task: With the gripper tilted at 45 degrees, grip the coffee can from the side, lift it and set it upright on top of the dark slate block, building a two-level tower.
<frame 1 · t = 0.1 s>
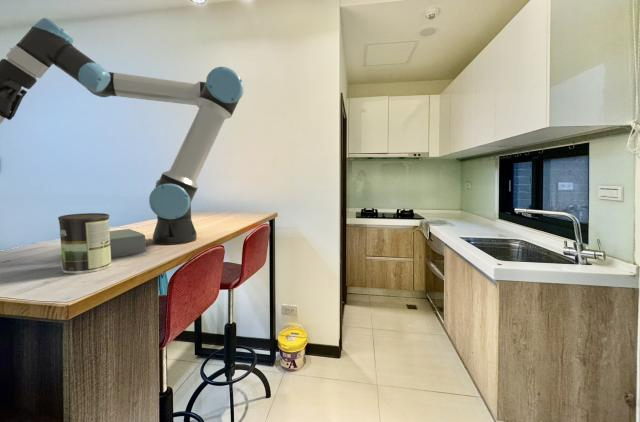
coffee can: (88, 268, 76), on the table
base block: (115, 252, 92), on the table
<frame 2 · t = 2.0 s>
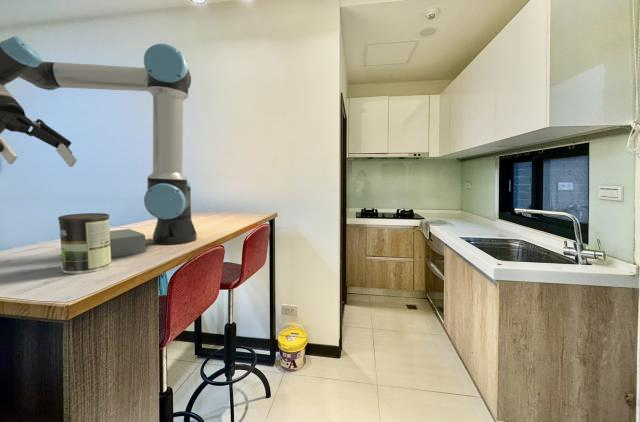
hand: (46, 162, 76), 28 cm above the table, tool tilted 45°, fingers open, 13 cm apart
nothing on the table moved.
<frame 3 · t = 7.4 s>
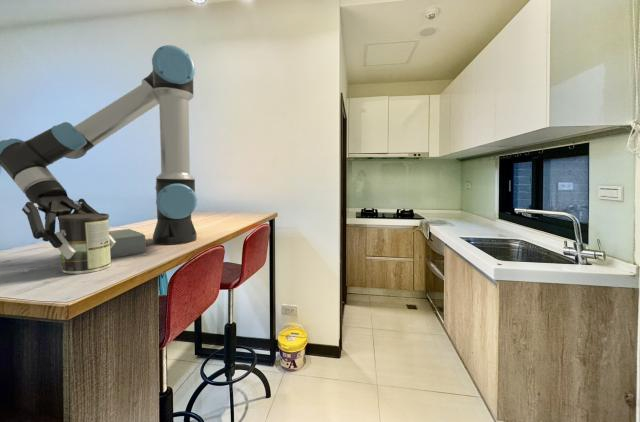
hand: (93, 250, 75), 5 cm above the table, tool tilted 45°, fingers closed on coffee can, 10 cm apart
coffee can: (88, 268, 76), on the table, touching gripper
when the fingers open (12 cm above the table, at t = 15.7 s): coffee can drops 1 cm, resting on arm, base block.
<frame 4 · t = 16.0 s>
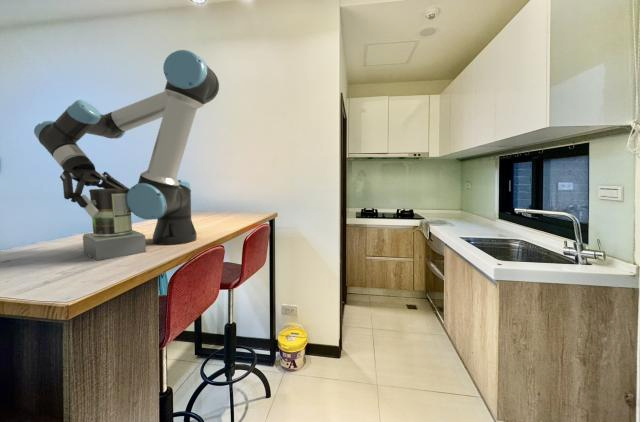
hand: (116, 211, 90), 13 cm above the table, tool tilted 45°, fingers open, 13 cm apart
coffee can: (113, 234, 91), point 6 cm above the table, touching arm, base block
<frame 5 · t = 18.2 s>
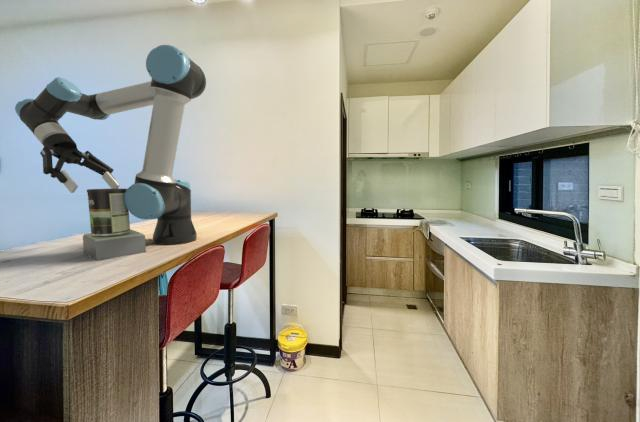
hand: (97, 189, 91), 20 cm above the table, tool tilted 45°, fingers open, 13 cm apart
nothing on the table moved.
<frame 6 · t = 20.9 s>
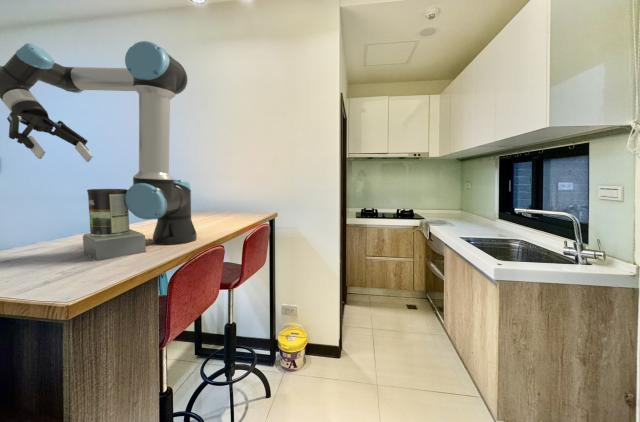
hand: (67, 157, 88), 30 cm above the table, tool tilted 45°, fingers open, 13 cm apart
coffee can: (111, 234, 91), point 6 cm above the table, touching base block
at the end: coffee can 0.9 cm off-centre on the base block, point 5.8 cm above the base block's base; coffee can tilted 0°; the gripper is holding nothing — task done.
